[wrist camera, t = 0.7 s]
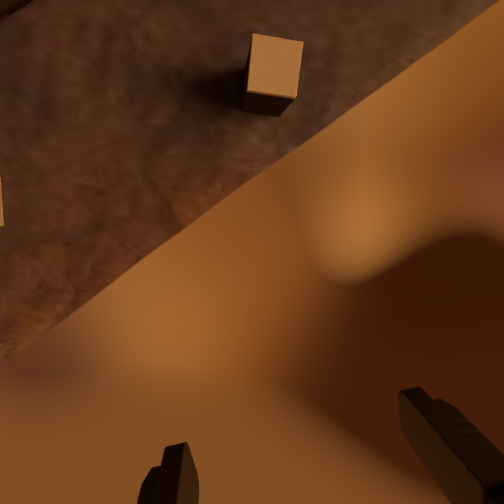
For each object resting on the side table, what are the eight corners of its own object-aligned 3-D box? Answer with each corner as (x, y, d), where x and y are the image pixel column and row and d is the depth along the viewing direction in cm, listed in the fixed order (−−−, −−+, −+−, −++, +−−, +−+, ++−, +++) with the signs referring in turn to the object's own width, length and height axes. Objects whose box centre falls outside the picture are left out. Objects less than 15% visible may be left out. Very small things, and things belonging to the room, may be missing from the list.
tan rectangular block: (245, 68, 33) (252, 32, 25) (284, 74, 33) (303, 41, 25) (241, 111, 33) (247, 90, 26) (279, 116, 34) (296, 97, 26)
